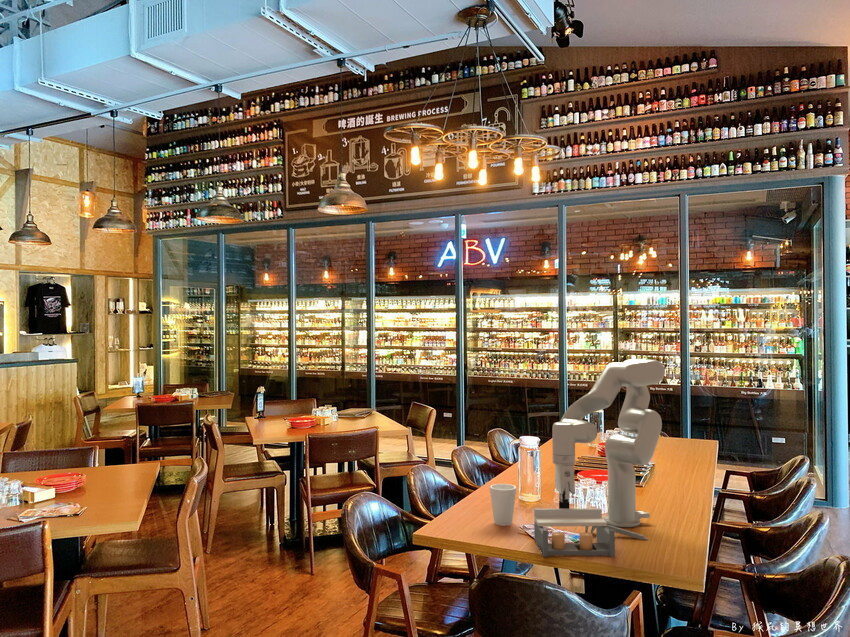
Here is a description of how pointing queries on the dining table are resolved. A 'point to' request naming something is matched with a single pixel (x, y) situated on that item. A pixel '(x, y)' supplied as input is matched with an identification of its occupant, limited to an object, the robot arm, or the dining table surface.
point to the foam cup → (503, 503)
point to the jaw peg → (585, 541)
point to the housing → (561, 548)
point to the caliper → (621, 531)
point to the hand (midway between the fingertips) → (564, 513)
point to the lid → (569, 517)
